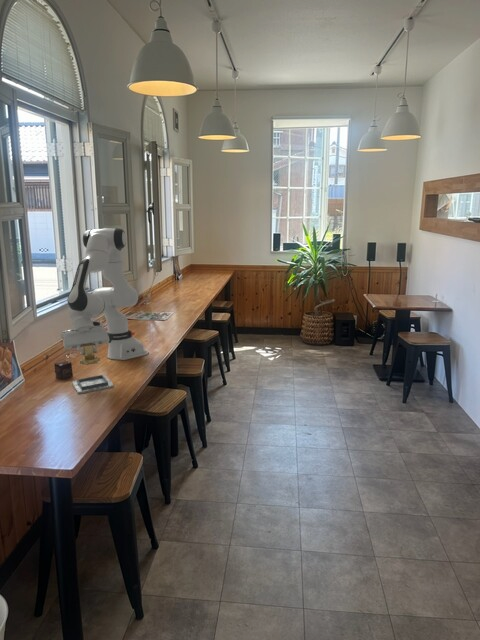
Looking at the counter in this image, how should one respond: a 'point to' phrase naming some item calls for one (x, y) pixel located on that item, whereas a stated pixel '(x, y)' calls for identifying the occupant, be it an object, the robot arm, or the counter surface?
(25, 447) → the counter surface
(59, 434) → the counter surface
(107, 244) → the robot arm
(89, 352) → the tan chunky piece
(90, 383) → the carrier
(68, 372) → the box
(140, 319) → the counter surface
